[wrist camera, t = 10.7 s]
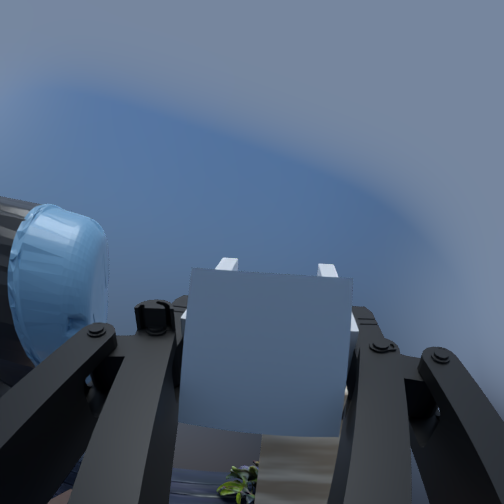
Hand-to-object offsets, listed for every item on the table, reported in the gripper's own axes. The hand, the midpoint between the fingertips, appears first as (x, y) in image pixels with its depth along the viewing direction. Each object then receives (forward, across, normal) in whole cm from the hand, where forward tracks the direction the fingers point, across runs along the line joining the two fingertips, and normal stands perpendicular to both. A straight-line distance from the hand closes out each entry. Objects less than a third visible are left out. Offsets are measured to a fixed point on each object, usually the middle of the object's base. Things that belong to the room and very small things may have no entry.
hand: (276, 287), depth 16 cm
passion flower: (+16, -2, -54) cm, 57 cm away
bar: (+1, 0, -6) cm, 6 cm away
